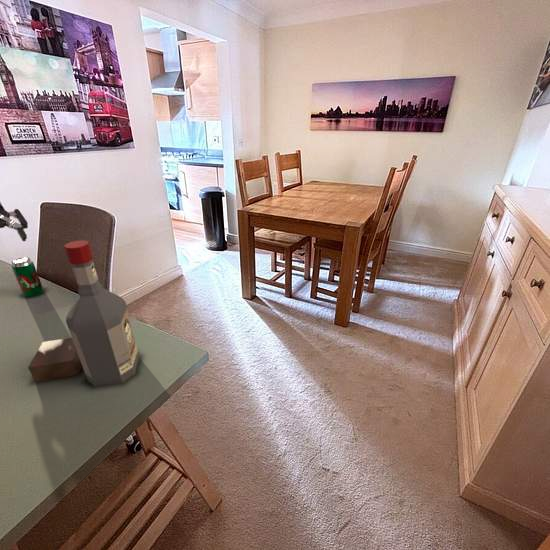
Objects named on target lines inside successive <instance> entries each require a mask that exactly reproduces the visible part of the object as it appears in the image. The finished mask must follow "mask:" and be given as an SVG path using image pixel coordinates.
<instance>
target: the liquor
mask: <svg viewBox="0 0 550 550" xmlns="http://www.w3.org/2000/svg"><path fill="white" fill-rule="evenodd" d="M64 250H65V253H66V256H67V259H68V262H69V264H70V265H71V269H72V271H73V274H74V277H75V281H76V284H77V288H78V290H77V293H78V296H77V298H76V300H75V301H74V303H73V304H72V306H71V307H70V309H69V311H68V312H67V314H66V318H65V324H66V326H67V328H68V331H69V333H70V338H72V339H73V342H74V345H75V347H76V350H77V353H78V356H79V358H80V361H81V364H82V369H83V372H84V374H85V377H86V379H87V381H88V382H89V383H90V384H92V385H93V386H94V387H100V386H107V385H114V384H122V383H125V381H127V380H129V379H130V378H132V377H134V375H135V374H136V372H137V368H138V367H137V366H138V363H139V359H140V355H139V349H138V347H137V342H136V339H135V335H134V331H133V326H132V322H131V318H130V315H129V310H128V307H127V302H126V301H125V299H124V298H123V297H121V296H119V295H118V294H116V293H113V292H112V291H109V290H108V289H106V288H104V287H103V284H102V283H101V282H100V279H99V275H98V273H97V270H96V269H97V268H96V267H95V263H94V255H93V252H92V249H91V246H90V242H89V241H88V240H83V239H82V240H74V241H70V242H67V243H65V244H64Z"/></svg>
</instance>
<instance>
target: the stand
mask: <svg viewBox="0 0 550 550" xmlns="http://www.w3.org/2000/svg"><path fill="white" fill-rule="evenodd" d="M82 368H83V366H82V364H81V361H80V358H79V356H78V353H77V350H76V347H75V345H74V342H73V339H72V337H68V338H61V339H60V338H59V339H53V340H47V341H42V342H41V344H40V346H39V347H38V350H37V351H36V353H35V354H34V357H33V358H32V360H31V362H30V363H29V365H28V366H27V369H28V371H29V372H30V375H31V376H32V379H33V381H34V382H35V383H38V382H45V381H49V380H56V379H60V378H66V377H73V376H77V375H79V374H80V372H81V370H82Z"/></svg>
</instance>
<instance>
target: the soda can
mask: <svg viewBox="0 0 550 550" xmlns="http://www.w3.org/2000/svg"><path fill="white" fill-rule="evenodd" d="M10 267H11V269H12V271H13V274H14V276H15V279H16V281H17V283H18V286H19V288H20V291H21V292H22V295H23V297H24V298H35V297H38V296H40V295H42V294H43V293H44V292H45V290H44V287H43V284H42V282H41V279H40V276H39V274H38V271H37V269H36V266H35V264H34V261H33V260H32V259H31V258H30V257H26V256H25V257H18V258H16V259H13V260H11V265H10Z"/></svg>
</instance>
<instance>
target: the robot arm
mask: <svg viewBox="0 0 550 550" xmlns="http://www.w3.org/2000/svg"><path fill="white" fill-rule="evenodd" d="M11 217H12V218H14V219H17V221H18V222H19V223H18V222H16V221H15V220H14V219H12V218H11ZM28 225H29V223H28V221H27V219H26V218H25V216H24V215H23V214H22V212H21V211H20V210H19V209H18V208H15V209H14V210H13V211H7V210H6V209H5V207H4V206H3V204H2V202H1V201H0V229H4V228H5V227H6V228H9V229H11V230H14V231H17V234H18V236H19V237H20V239H21V241H22V242H26V240H27V239H28V237H27V233H26V231H25V229H28V228H29V226H28Z"/></svg>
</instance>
